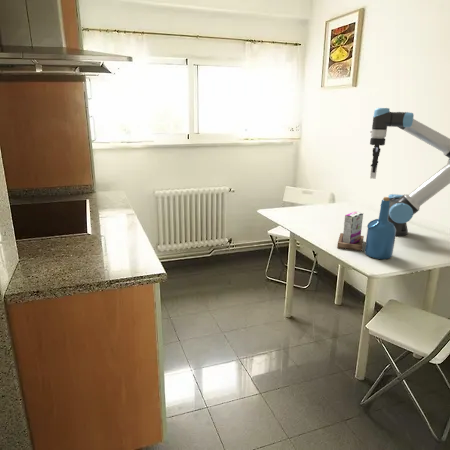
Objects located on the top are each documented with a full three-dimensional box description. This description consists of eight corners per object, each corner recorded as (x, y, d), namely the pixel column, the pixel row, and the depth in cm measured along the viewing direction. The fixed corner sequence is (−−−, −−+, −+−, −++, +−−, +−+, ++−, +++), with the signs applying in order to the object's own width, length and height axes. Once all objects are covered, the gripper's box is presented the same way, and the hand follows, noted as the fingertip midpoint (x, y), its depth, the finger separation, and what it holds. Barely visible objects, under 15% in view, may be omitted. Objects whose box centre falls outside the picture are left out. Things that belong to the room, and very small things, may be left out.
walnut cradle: (363, 240, 214) (363, 235, 213) (362, 251, 197) (362, 246, 197) (339, 238, 218) (340, 233, 217) (337, 248, 202) (337, 242, 201)
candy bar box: (351, 239, 212) (355, 211, 208) (360, 241, 209) (364, 213, 204) (341, 244, 205) (344, 214, 200) (349, 246, 202) (353, 216, 197)
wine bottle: (386, 251, 199) (395, 194, 190) (396, 260, 186) (406, 200, 177) (359, 250, 199) (367, 194, 191) (368, 259, 187) (376, 200, 178)
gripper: (371, 135, 219) (366, 172, 225) (370, 138, 197) (365, 179, 203) (385, 136, 217) (379, 173, 223) (386, 139, 194) (380, 180, 201)
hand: (372, 176), depth 213 cm, fingers open, 13 cm apart
